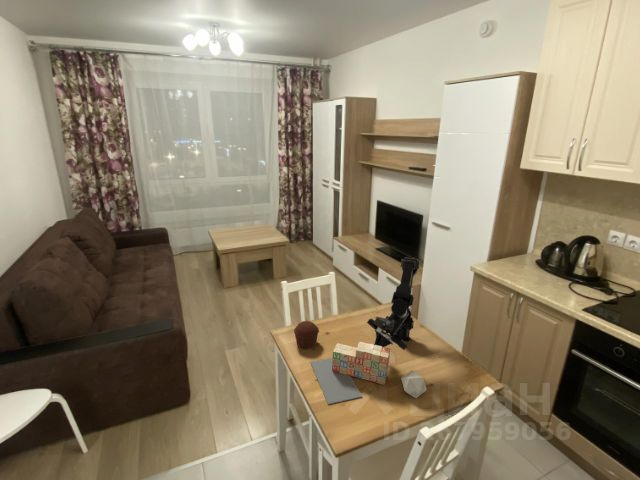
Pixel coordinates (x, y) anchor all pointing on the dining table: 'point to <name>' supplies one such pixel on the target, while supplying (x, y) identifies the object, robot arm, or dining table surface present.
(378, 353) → the stack of blocks
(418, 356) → the dining table surface
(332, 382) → the mat
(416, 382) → the die
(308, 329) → the muffin
